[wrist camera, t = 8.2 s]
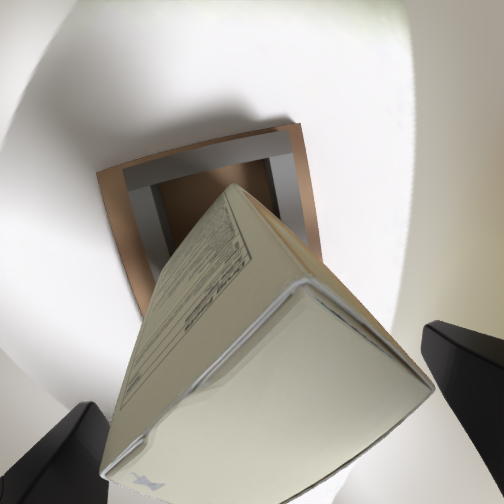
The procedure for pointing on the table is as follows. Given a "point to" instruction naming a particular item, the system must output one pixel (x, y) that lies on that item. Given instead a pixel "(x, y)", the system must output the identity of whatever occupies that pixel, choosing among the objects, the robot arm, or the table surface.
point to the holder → (204, 195)
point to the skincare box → (253, 370)
